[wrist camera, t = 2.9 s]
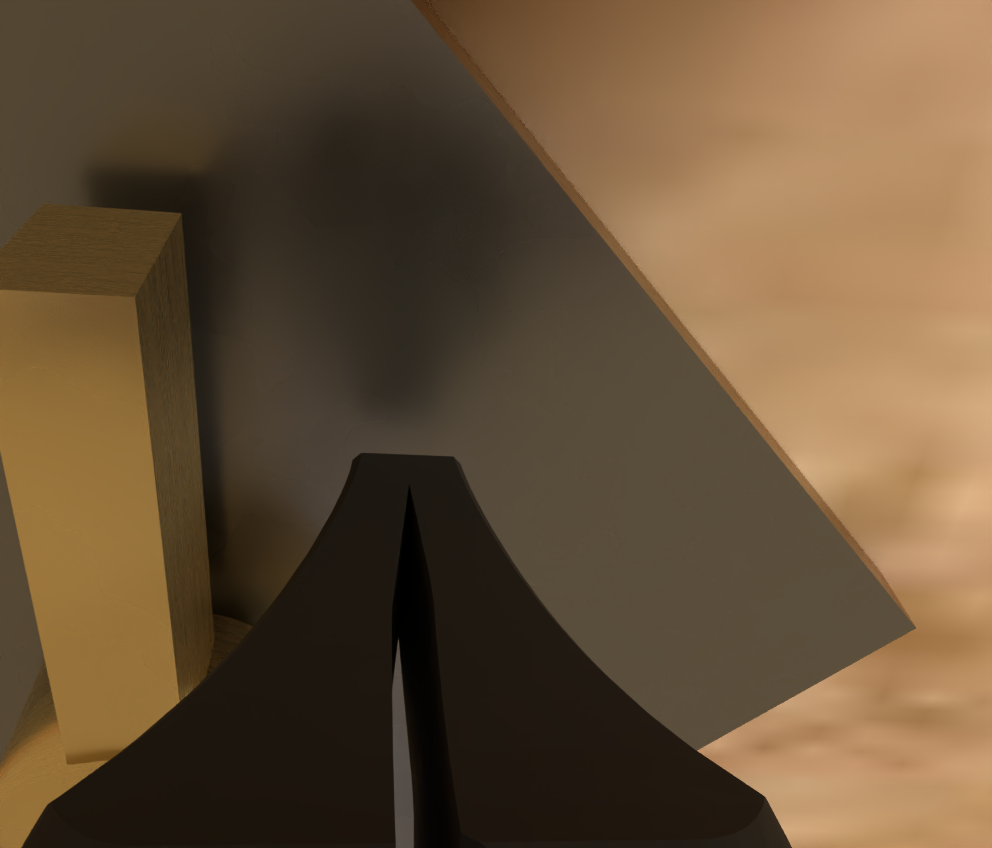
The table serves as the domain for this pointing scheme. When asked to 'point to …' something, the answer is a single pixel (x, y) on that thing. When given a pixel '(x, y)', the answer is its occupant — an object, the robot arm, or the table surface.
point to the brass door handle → (102, 491)
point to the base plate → (426, 344)
